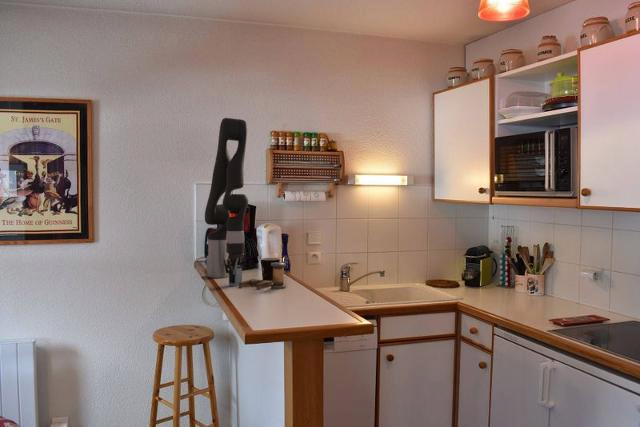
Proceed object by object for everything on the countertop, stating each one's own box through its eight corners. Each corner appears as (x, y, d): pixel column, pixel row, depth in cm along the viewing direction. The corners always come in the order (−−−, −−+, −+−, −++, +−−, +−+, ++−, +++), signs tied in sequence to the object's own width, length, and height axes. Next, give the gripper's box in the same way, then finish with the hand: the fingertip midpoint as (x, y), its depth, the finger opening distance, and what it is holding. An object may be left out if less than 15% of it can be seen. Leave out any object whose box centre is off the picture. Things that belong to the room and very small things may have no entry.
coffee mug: (278, 283, 231) (279, 260, 230) (258, 283, 231) (259, 259, 231) (281, 279, 242) (281, 257, 242) (262, 278, 243) (262, 256, 242)
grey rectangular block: (228, 285, 224) (228, 268, 224) (234, 284, 228) (234, 267, 228) (236, 286, 223) (236, 269, 222) (241, 284, 226) (242, 268, 226)
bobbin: (268, 288, 219) (268, 263, 218) (275, 285, 224) (275, 262, 224) (281, 289, 216) (281, 264, 216) (288, 287, 221) (288, 263, 221)
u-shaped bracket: (239, 287, 220) (239, 282, 220) (252, 283, 229) (252, 279, 229) (259, 289, 216) (260, 284, 215) (272, 285, 225) (272, 280, 225)
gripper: (237, 240, 233) (237, 279, 233) (217, 242, 220) (217, 284, 220) (252, 240, 229) (252, 280, 230) (233, 243, 217) (233, 285, 217)
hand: (235, 282), depth 225 cm, fingers closed on grey rectangular block, 4 cm apart
